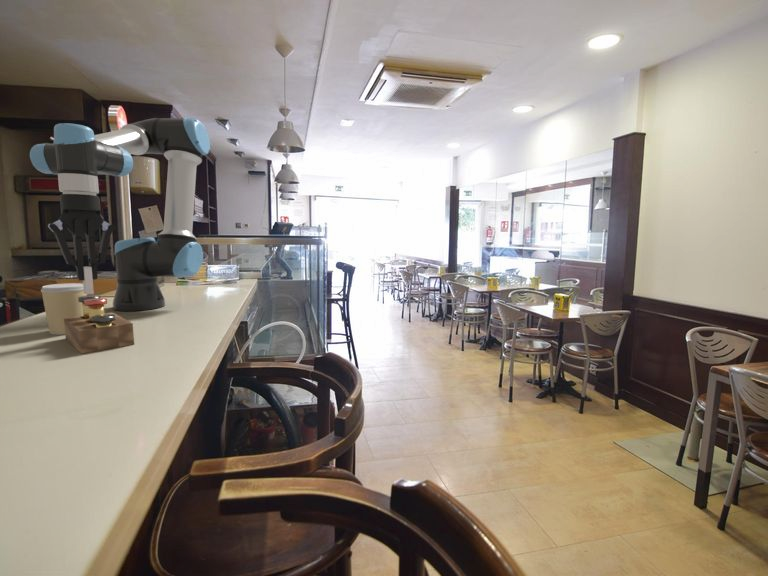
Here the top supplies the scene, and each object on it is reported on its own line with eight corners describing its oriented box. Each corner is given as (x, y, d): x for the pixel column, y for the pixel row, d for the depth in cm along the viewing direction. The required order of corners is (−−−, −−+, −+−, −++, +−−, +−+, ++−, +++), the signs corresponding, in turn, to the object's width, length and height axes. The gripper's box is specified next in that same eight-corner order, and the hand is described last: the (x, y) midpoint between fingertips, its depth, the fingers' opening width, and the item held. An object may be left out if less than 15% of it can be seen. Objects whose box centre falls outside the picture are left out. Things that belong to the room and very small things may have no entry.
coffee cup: (99, 327, 109) (95, 283, 107) (69, 336, 99) (64, 288, 98) (68, 326, 109) (63, 282, 108) (35, 334, 100) (30, 287, 99)
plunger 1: (100, 320, 102) (97, 294, 101) (104, 322, 99) (102, 296, 98) (78, 322, 99) (76, 296, 98) (82, 325, 96) (80, 298, 95)
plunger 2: (114, 340, 94) (112, 313, 93) (119, 344, 91) (117, 316, 90) (91, 344, 91) (89, 316, 90) (96, 348, 88) (93, 319, 87)
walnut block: (114, 331, 104) (112, 312, 104) (134, 344, 93) (132, 323, 92) (65, 338, 97) (63, 318, 97) (81, 353, 86) (79, 330, 85)
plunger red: (106, 323, 98) (104, 297, 97) (111, 327, 95) (109, 299, 94) (84, 326, 95) (81, 299, 94) (88, 330, 92) (86, 302, 91)
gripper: (108, 197, 102) (115, 289, 105) (41, 193, 92) (51, 294, 95) (116, 195, 96) (124, 292, 100) (46, 191, 87) (57, 298, 90)
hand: (88, 293), depth 98 cm, fingers closed
